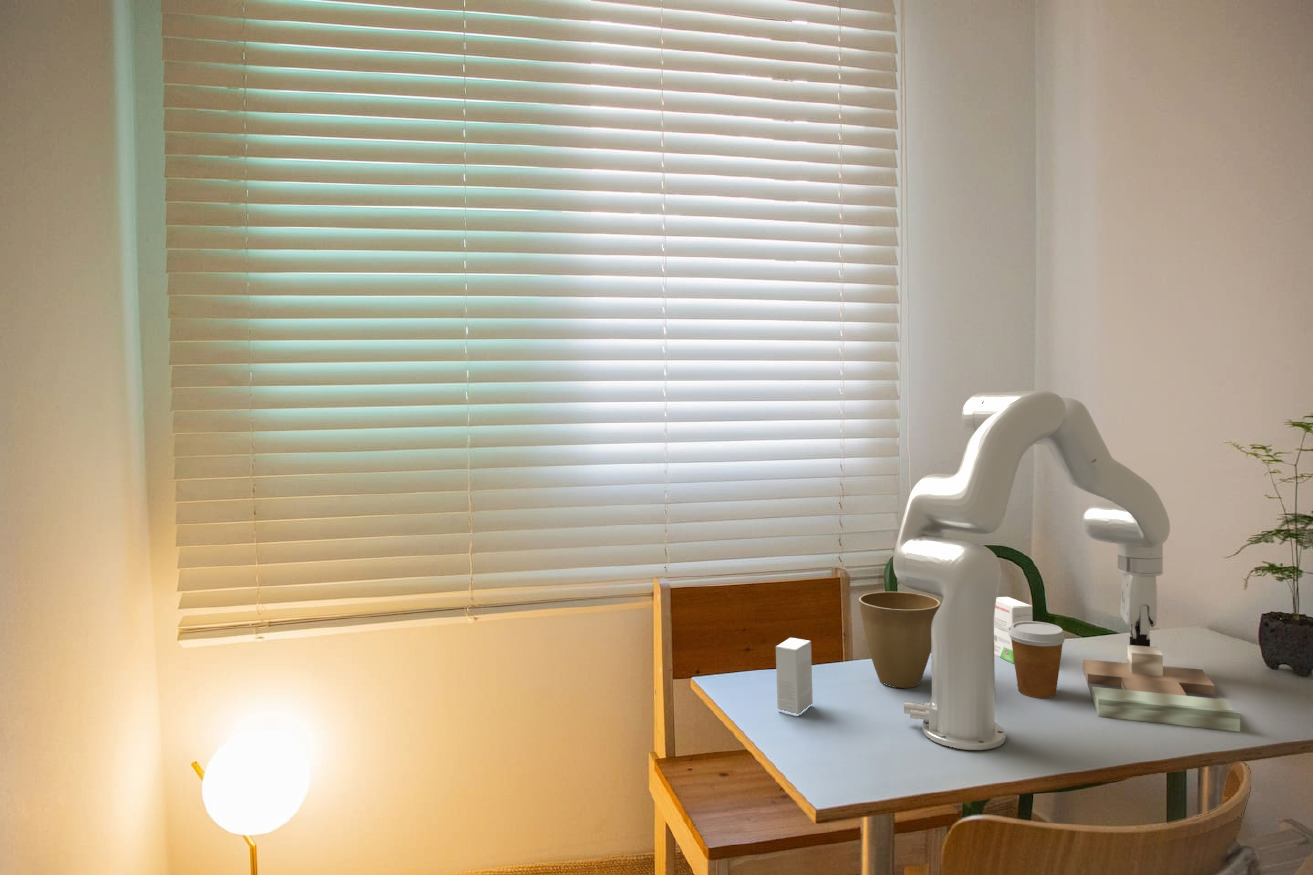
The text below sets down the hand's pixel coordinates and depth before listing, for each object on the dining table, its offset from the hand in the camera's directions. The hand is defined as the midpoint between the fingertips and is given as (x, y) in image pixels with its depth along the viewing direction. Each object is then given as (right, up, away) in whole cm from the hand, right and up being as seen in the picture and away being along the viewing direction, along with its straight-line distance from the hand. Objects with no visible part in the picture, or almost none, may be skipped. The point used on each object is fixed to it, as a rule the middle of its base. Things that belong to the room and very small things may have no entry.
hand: (1139, 657), depth 158 cm
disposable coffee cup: (-24, -4, -9) cm, 26 cm away
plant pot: (-47, -4, -1) cm, 47 cm away
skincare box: (-69, -6, -14) cm, 71 cm away
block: (-2, -1, -5) cm, 5 cm away
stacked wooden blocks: (-5, -4, -13) cm, 14 cm away
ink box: (-20, -3, +11) cm, 23 cm away
